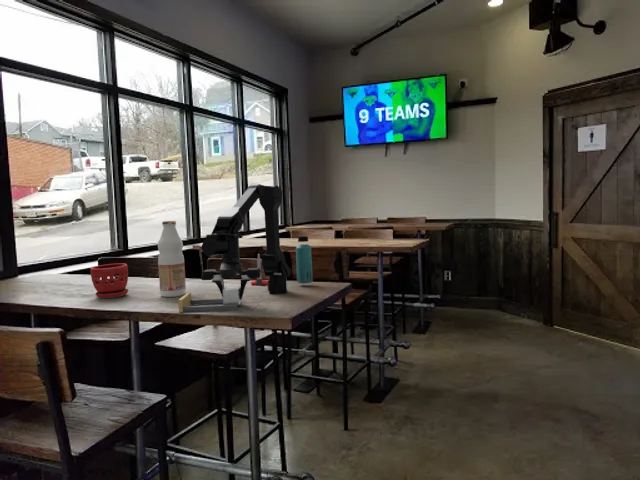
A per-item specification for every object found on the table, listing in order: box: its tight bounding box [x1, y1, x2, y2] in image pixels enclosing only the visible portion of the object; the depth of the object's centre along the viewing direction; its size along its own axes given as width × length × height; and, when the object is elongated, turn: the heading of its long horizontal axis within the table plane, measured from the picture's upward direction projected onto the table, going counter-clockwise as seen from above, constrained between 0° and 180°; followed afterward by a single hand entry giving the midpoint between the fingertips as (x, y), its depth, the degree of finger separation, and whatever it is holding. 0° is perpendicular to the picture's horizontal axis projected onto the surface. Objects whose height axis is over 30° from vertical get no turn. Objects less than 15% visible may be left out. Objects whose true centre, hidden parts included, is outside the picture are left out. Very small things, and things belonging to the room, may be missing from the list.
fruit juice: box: [157, 220, 187, 298], centre depth 189 cm, size 9×9×28 cm
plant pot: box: [89, 262, 129, 299], centre depth 191 cm, size 13×13×12 cm
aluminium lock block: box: [222, 285, 243, 306], centre depth 166 cm, size 5×7×5 cm
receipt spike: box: [250, 253, 269, 286], centre depth 210 cm, size 8×13×9 cm
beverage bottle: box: [295, 235, 314, 285], centre depth 200 cm, size 6×7×20 cm
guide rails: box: [178, 292, 238, 313], centre depth 166 cm, size 18×12×4 cm
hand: (232, 299), depth 166 cm, fingers closed on aluminium lock block, 5 cm apart
